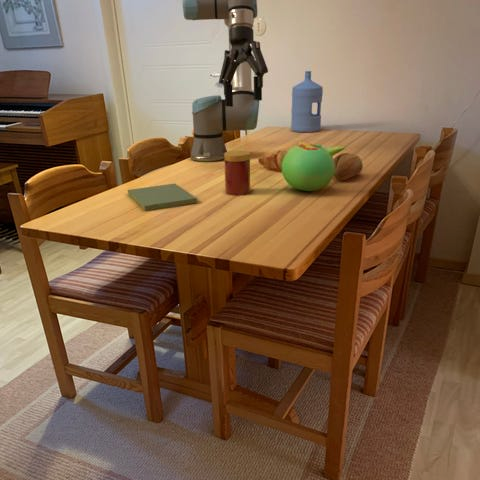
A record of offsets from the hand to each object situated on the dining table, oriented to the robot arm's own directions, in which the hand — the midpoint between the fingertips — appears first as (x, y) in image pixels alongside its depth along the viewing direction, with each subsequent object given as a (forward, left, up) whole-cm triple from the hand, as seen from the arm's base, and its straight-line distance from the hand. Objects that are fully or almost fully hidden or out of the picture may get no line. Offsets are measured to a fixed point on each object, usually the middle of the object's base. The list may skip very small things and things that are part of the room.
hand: (243, 103), depth 155 cm
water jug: (-80, +75, -25) cm, 113 cm away
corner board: (+6, -32, -25) cm, 41 cm away
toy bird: (+20, +13, -25) cm, 34 cm away
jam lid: (+11, -8, -13) cm, 19 cm away
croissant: (-8, +20, -25) cm, 33 cm away
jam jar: (+11, -8, -25) cm, 28 cm away
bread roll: (+13, +33, -25) cm, 43 cm away
